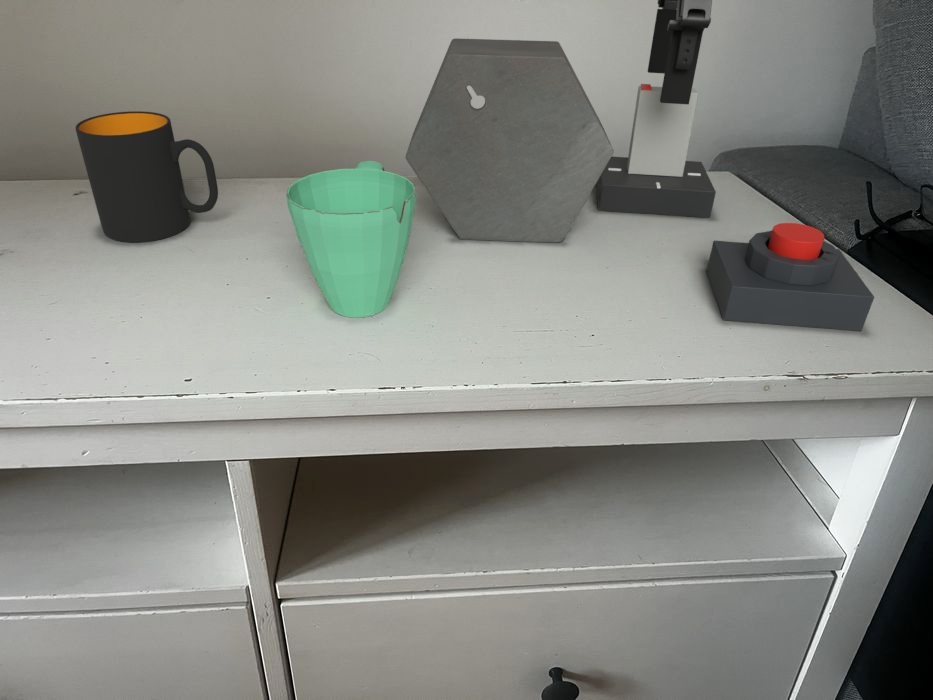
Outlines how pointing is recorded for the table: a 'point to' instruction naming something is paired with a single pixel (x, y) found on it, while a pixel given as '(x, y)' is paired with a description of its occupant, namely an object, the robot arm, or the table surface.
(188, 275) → the table surface
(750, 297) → the button block
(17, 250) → the table surface
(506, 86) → the grey hexagonal block
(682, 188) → the lever base
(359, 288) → the mug
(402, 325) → the table surface
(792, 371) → the table surface
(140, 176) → the mug
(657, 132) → the upright gray panel
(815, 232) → the button
